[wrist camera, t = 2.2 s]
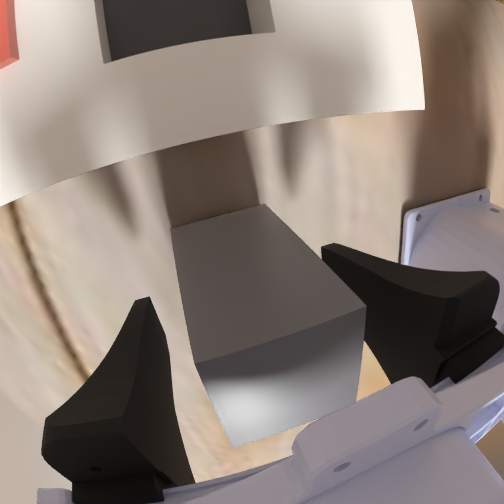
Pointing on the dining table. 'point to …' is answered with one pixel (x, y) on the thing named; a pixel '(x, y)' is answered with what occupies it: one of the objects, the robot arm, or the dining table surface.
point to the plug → (266, 323)
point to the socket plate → (186, 75)
